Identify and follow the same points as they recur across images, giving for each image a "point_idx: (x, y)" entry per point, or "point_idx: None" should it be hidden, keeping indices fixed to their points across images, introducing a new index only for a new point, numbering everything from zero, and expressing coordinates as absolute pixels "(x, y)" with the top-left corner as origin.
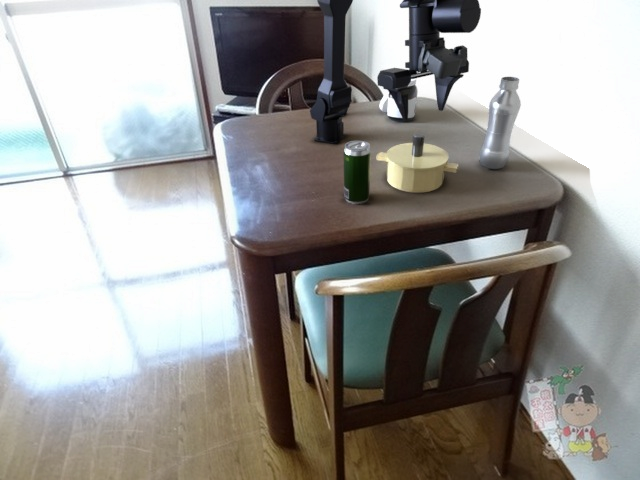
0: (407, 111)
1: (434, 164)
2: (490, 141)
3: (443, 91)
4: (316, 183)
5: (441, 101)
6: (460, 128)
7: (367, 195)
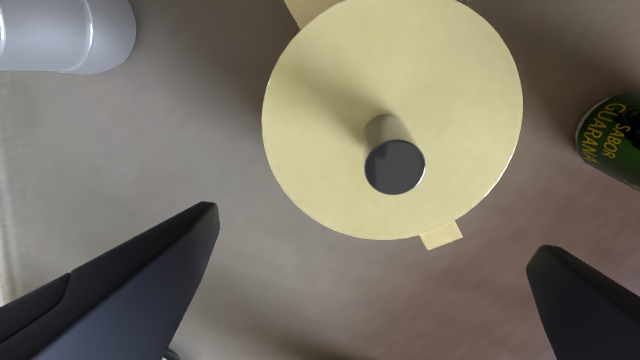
0: (609, 293)
1: (407, 11)
2: (46, 4)
3: (105, 337)
4: (600, 261)
5: (183, 257)
6: (55, 252)
7: (638, 93)
